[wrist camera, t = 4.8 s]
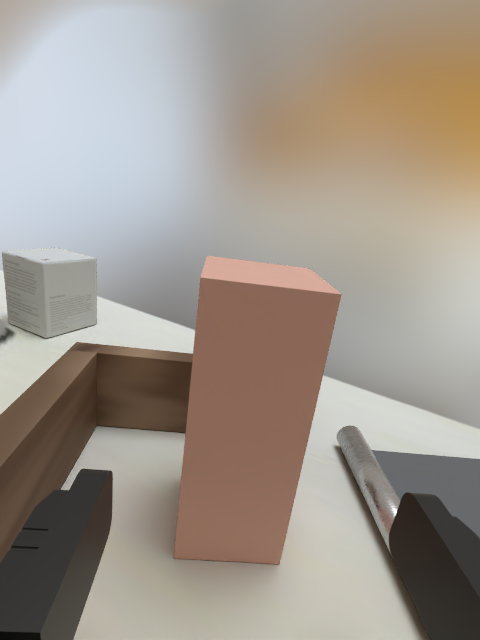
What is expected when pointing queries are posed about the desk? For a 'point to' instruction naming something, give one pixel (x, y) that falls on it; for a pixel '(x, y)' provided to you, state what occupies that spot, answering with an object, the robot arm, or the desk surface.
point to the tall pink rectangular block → (250, 406)
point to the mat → (437, 481)
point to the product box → (50, 290)
